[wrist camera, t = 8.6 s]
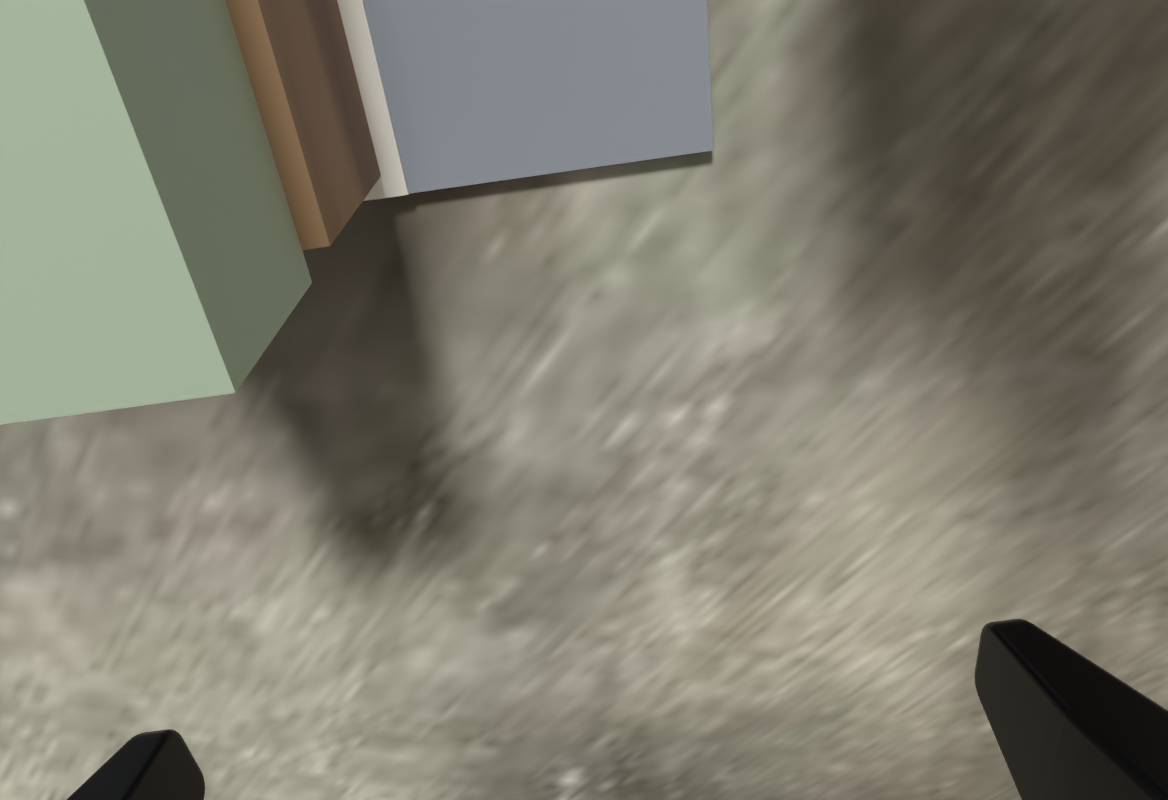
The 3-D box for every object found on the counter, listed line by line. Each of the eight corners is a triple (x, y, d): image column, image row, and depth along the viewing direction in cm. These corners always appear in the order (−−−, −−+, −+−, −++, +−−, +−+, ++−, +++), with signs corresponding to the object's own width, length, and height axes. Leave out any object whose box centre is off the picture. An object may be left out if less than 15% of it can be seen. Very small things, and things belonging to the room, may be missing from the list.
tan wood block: (316, -83, 15) (228, -101, 11) (381, 175, 18) (330, 246, 13) (62, -47, 15) (-124, -47, 11) (161, 207, 18) (40, 287, 14)
